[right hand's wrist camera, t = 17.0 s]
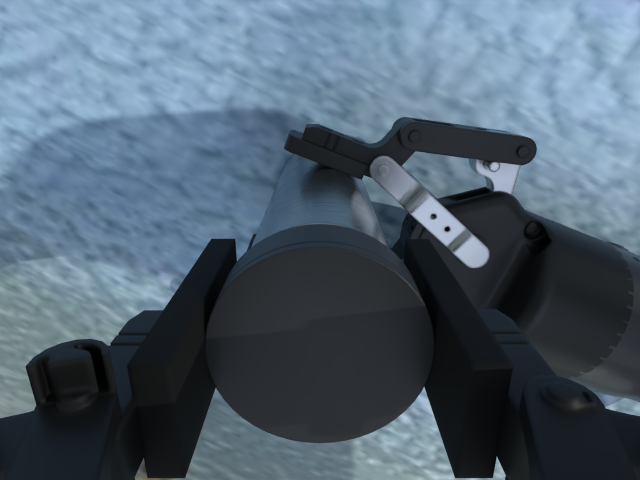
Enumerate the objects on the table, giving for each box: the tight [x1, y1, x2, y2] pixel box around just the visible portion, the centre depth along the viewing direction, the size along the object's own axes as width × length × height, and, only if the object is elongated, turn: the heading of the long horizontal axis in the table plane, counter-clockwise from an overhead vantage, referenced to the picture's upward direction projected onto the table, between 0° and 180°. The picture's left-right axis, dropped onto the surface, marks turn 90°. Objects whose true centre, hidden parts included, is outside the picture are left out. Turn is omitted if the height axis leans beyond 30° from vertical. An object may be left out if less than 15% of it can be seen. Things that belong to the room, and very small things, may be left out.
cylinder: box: [252, 154, 390, 249], centre depth 19 cm, size 5×5×16 cm
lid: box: [205, 224, 435, 443], centre depth 11 cm, size 6×6×2 cm
